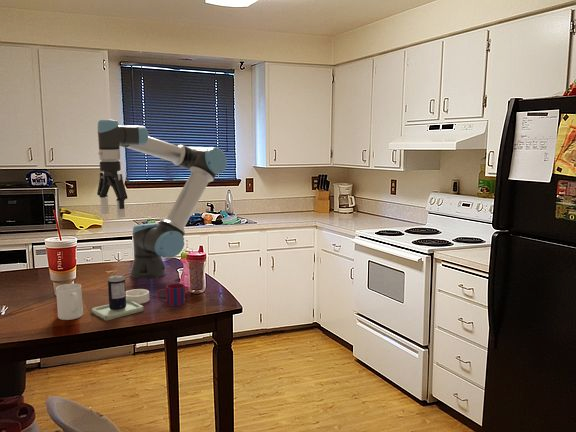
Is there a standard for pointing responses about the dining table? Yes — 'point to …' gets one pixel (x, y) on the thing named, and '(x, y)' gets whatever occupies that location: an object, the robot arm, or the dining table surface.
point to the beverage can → (117, 292)
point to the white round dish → (138, 295)
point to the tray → (108, 314)
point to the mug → (69, 301)
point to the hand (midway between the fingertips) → (112, 215)
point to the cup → (174, 294)
